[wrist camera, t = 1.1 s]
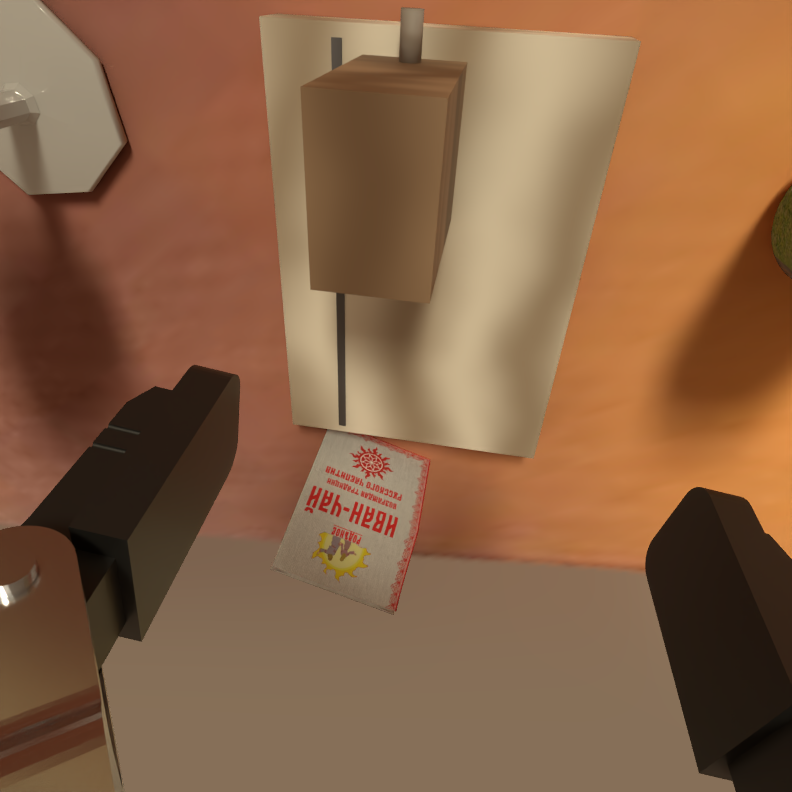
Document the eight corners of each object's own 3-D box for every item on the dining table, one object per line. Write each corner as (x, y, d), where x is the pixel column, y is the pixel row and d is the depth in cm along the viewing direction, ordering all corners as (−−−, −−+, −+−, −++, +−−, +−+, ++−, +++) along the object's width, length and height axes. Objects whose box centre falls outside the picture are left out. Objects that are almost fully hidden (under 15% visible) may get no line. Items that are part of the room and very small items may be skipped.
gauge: (472, 10, 20) (454, 25, 14) (450, 220, 25) (429, 303, 18) (363, 3, 21) (296, 15, 14) (361, 210, 25) (310, 289, 19)
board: (631, 36, 22) (641, 41, 20) (532, 435, 34) (533, 459, 32) (276, 13, 23) (258, 16, 21) (303, 403, 35) (292, 425, 33)
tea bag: (409, 495, 38) (382, 630, 30) (315, 459, 38) (263, 587, 30) (430, 459, 36) (407, 595, 28) (331, 420, 36) (279, 547, 28)
